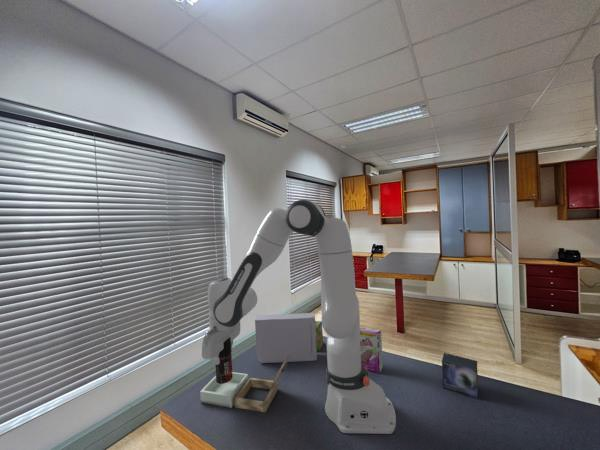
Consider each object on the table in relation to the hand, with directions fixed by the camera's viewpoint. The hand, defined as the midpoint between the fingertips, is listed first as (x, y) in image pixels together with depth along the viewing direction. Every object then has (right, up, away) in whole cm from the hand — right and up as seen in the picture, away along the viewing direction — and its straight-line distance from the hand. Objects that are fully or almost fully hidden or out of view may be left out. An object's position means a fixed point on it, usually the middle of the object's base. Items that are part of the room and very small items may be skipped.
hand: (223, 357), depth 93 cm
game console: (+23, -12, +21) cm, 33 cm away
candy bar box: (+58, -10, +11) cm, 60 cm away
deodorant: (0, -8, 0) cm, 8 cm away
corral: (+13, -13, -3) cm, 19 cm away
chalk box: (+35, -11, +31) cm, 48 cm away
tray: (+1, -13, 0) cm, 13 cm away
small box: (+87, -9, -4) cm, 87 cm away
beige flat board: (+21, -4, -6) cm, 22 cm away
